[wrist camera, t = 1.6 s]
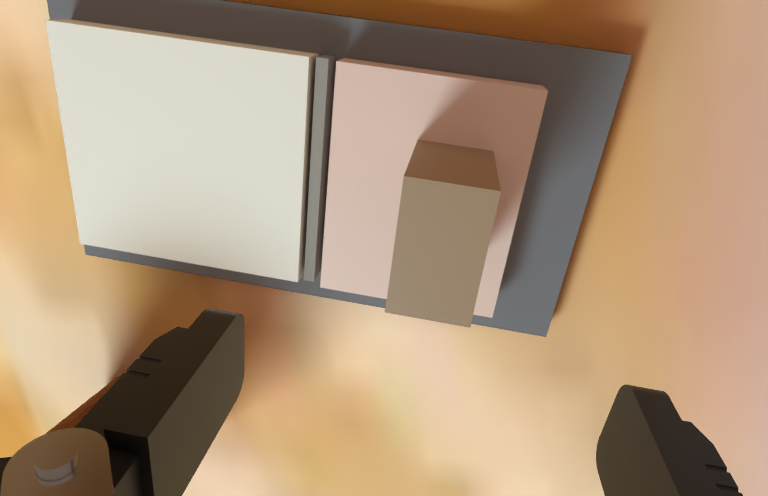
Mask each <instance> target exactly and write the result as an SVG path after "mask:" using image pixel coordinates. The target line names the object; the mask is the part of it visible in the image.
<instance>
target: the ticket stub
mask: <svg viewBox="0 0 768 496" xmlns="http://www.w3.org/2000/svg"><path fill="white" fill-rule="evenodd" d="M547 94H548V90H547V89H546V88H545V87H544V86H543V85H536V84H529V83H522V82H515V81H507V80H500V79H493V78H486V77H479V76H472V75H464V74H457V73H450V72H443V71H436V70H428V69H421V68H414V67H407V66H400V65H393V64H385V63H378V62H371V61H364V60H357V59H350V58H343V59H340V60H338V61H336V72H335V86H334V100H333V114H332V128H331V142H330V156H329V170H328V184H327V198H326V212H325V226H324V240H323V254H322V268H321V281H320V287H321V288H326V289H332V290H338V291H343V292H349V293H355V294H360V295H366V296H371V297H377V298H383V299H387V301H386V308H385V312H387V313H392V314H398V315H404V316H409V317H415V318H420V319H426V320H431V321H437V322H443V323H448V324H454V325H459V326H465V327H470V326H471V321H472V317H473V315H478V316H484V317H490V318H492V317H493V313H494V309H495V305H496V301H497V297H498V293H499V288H500V284H501V280H502V276H503V272H504V268H505V264H506V260H507V256H508V252H509V248H510V244H511V240H512V236H513V232H514V228H515V224H516V220H517V216H518V212H519V207H520V203H521V199H522V195H523V191H524V187H525V183H526V179H527V175H528V171H529V167H530V163H531V159H532V155H533V151H534V147H535V143H536V139H537V135H538V130H539V126H540V122H541V118H542V114H543V110H544V106H545V102H546V98H547Z"/></svg>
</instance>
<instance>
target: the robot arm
mask: <svg viewBox="0 0 768 496" xmlns="http://www.w3.org/2000/svg"><path fill="white" fill-rule="evenodd" d="M243 378H244V318H243V316H242V315H241V314H236V313H231V312H225V311H220V310H214V309H205V310H204V311H203V312H202V313H201V314H200V316H199V317H198V318H197V319H196V320H195V322H194V323H193V324H192V325H191V326H190V327H189V329H186V328H180V327H176V328H175V329H173V330H171V331H169V332H168V333H166V334H164V335H162V336H160V337H159V338H157V339H155V340H154V341H153V342H152V343H151V344H150V345H149V347H148V348H147V349H146V350H145V351H144V352H143V353H142V354H141V355H140V358H139V360H138V359H137V360H136V361H135V362H134V363H133V364H132V365H131V366H130V367H129V368H128V369H127V373H126V374H123V375H122V376H121V377H120V378H119V379H118V380H117V381H116V382H115V384H114V385H113V386H112V387H111V388H110V389H109V390H108V391H107V392H106V393H105V394H104V395H103V397H102V398H101V399H100V400H99V401H98V402H97V403H96V404H95V405H94V406H93V407H92V409H91V410H90V411H89V412H88V413H87V414H86V415H85V416H84V417H83V418H82V419H81V420H80V422H79V423H78V424H77V425H76V426H75V427H74V428H67V429H61V430H57V431H53V432H50V433H47V434H45V435H42V436H40V437H38V438H36V439H34V440H32V441H31V442H29V443H28V444H26V445H25V446H23V447H22V448H21V449H20V450H18V451H17V452H16V453H15V454H14V455H13V456H12V457H6V458H0V496H182V495H183V493H184V491H185V489H186V488H187V486H188V484H189V482H190V481H191V479H192V477H193V475H194V474H195V472H196V470H197V468H198V467H199V465H200V463H201V461H202V460H203V458H204V456H205V454H206V453H207V451H208V449H209V447H210V446H211V444H212V442H213V440H214V439H215V437H216V435H217V433H218V432H219V430H220V428H221V426H222V425H223V423H224V421H225V419H226V418H227V416H228V414H229V412H230V411H231V409H232V407H233V405H234V404H235V402H236V400H237V398H238V396H239V393H240V390H241V387H242V383H243ZM596 463H597V470H598V474H599V477H600V480H601V484H602V487H603V491H604V494H605V496H743V495H742V493H739V492H738V486H737V485H736V483H735V481H734V479H733V478H732V476H731V474H730V473H728V472H727V467H726V465H725V464H724V462H723V460H722V459H721V457H720V455H719V453H718V452H717V450H716V448H715V446H714V445H713V444H712V443H711V442H710V441H709V440H708V439H707V438H706V437H705V436H704V435H703V434H702V433H701V432H700V431H699V430H698V429H697V428H696V427H695V426H694V425H693V424H692V423H691V422H687V421H682V420H681V418H680V416H679V414H678V412H677V411H676V409H675V407H674V405H673V403H672V401H671V399H670V397H669V396H668V395H667V393H665V392H664V391H659V390H653V389H648V388H642V387H636V386H631V385H623V386H622V387H621V388H620V389H619V391H618V393H617V396H616V398H615V401H614V403H613V405H612V408H611V410H610V413H609V415H608V418H607V420H606V422H605V425H604V427H603V430H602V432H601V435H600V437H599V440H598V444H597V451H596Z"/></svg>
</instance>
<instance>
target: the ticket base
mask: <svg viewBox="0 0 768 496" xmlns="http://www.w3.org/2000/svg"><path fill="white" fill-rule="evenodd" d="M47 3H48V9H49V16H50V20H46V27H47V33H48V39H49V46H50V52H51V59H52V65H53V72H54V78H55V84H56V91H57V97H58V104H59V110H60V117H61V123H62V130H63V136H64V142H65V149H66V155H67V162H68V168H69V175H70V181H71V187H72V194H73V200H74V207H75V213H76V220H77V226H78V232H79V239H80V244H84V246H85V253H86V255H91V256H97V257H102V258H108V259H113V260H119V261H125V262H130V263H136V264H141V265H147V266H152V267H158V268H164V269H169V270H175V271H180V272H186V273H192V274H197V275H203V276H208V277H214V278H219V279H225V280H231V281H236V282H242V283H247V284H253V285H259V286H264V287H270V288H275V289H281V290H286V291H292V292H298V293H303V294H309V295H314V296H320V297H326V298H331V299H337V300H342V301H348V302H354V303H359V304H365V305H370V306H376V307H381V308H386V301H387V299H383V298H377V297H371V296H366V295H360V294H355V293H349V292H343V291H338V290H332V289H326V288H321V287H320V281H321V268H322V254H323V240H324V226H325V212H326V198H327V184H328V170H329V156H330V142H331V128H332V114H333V100H334V86H335V72H336V61H338V60H340V59H343V58H350V59H357V60H364V61H371V62H378V63H385V64H393V65H400V66H407V67H414V68H421V69H428V70H436V71H443V72H450V73H457V74H464V75H472V76H479V77H486V78H493V79H500V80H507V81H515V82H522V83H529V84H536V85H543V86H544V87H545V88H546V89H547V90H548V94H547V98H546V102H545V106H544V110H543V114H542V118H541V122H540V126H539V130H538V135H537V139H536V143H535V147H534V151H533V155H532V159H531V163H530V167H529V171H528V175H527V179H526V183H525V187H524V191H523V195H522V199H521V203H520V207H519V212H518V216H517V220H516V224H515V228H514V232H513V236H512V240H511V244H510V248H509V252H508V256H507V260H506V264H505V268H504V272H503V276H502V280H501V284H500V288H499V293H498V297H497V301H496V305H495V309H494V313H493V317H492V318H490V317H484V316H478V315H473V317H472V321H471V324H476V325H482V326H488V327H493V328H499V329H504V330H510V331H516V332H521V333H527V334H532V335H538V336H543V337H546V335H547V332H548V329H549V325H550V322H551V319H552V316H553V312H554V309H555V306H556V303H557V299H558V296H559V293H560V290H561V286H562V283H563V280H564V276H565V273H566V270H567V267H568V263H569V260H570V257H571V254H572V250H573V247H574V244H575V241H576V237H577V234H578V231H579V228H580V224H581V221H582V218H583V215H584V211H585V208H586V205H587V201H588V198H589V195H590V192H591V188H592V185H593V182H594V179H595V175H596V172H597V169H598V166H599V162H600V159H601V156H602V153H603V149H604V146H605V143H606V140H607V136H608V133H609V130H610V126H611V123H612V120H613V117H614V113H615V110H616V107H617V104H618V100H619V97H620V94H621V91H622V87H623V84H624V81H625V78H626V74H627V71H628V68H629V65H630V61H631V58H632V55H629V54H625V53H618V52H611V51H603V50H596V49H588V48H581V47H573V46H565V45H558V44H550V43H543V42H535V41H528V40H520V39H513V38H505V37H498V36H490V35H482V34H475V33H467V32H460V31H452V30H445V29H437V28H430V27H422V26H415V25H407V24H400V23H392V22H384V21H377V20H369V19H362V18H354V17H347V16H339V15H332V14H324V13H317V12H309V11H301V10H294V9H286V8H279V7H271V6H264V5H256V4H249V3H241V2H234V1H226V0H47Z"/></svg>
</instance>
